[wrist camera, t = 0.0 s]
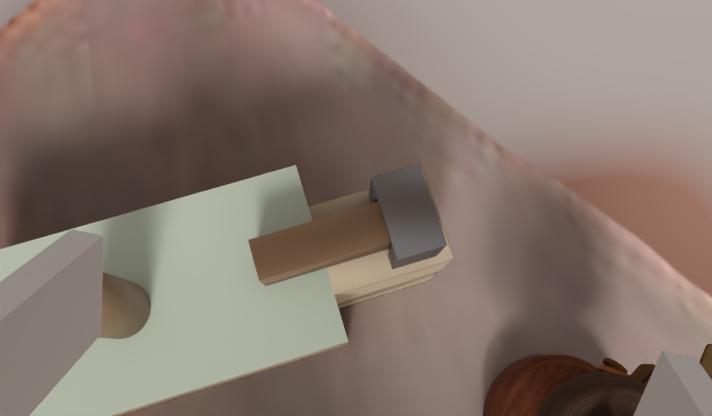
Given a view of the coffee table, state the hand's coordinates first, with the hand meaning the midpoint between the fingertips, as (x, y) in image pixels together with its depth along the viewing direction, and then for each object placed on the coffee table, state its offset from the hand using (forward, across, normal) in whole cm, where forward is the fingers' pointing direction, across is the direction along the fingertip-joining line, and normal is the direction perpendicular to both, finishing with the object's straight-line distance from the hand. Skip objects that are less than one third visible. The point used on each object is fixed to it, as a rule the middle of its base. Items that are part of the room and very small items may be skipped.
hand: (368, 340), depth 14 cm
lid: (+21, +15, +16) cm, 30 cm away
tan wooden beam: (+23, +2, +9) cm, 25 cm away
